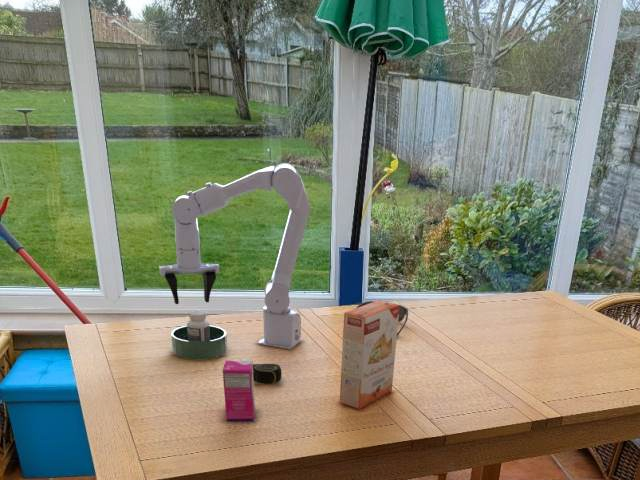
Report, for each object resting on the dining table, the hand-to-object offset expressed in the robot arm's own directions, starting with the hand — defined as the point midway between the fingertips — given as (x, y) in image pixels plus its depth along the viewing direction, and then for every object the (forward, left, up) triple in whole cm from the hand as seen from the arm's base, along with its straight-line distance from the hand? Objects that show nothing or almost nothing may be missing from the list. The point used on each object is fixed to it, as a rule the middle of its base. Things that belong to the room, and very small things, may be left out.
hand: (191, 302), depth 186 cm
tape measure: (-29, +17, -11) cm, 35 cm away
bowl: (-6, +7, -10) cm, 13 cm away
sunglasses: (-40, -35, -11) cm, 54 cm away
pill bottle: (-6, +7, -10) cm, 13 cm away
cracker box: (-54, +16, -11) cm, 57 cm away
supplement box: (-33, +37, -11) cm, 50 cm away
